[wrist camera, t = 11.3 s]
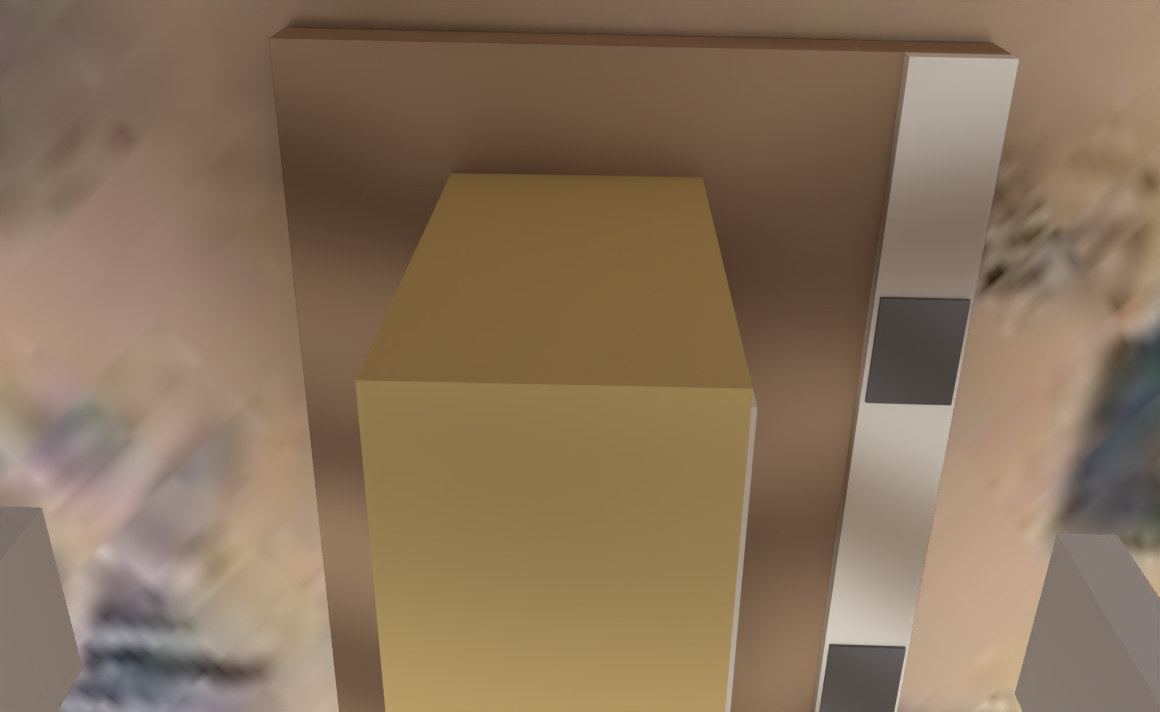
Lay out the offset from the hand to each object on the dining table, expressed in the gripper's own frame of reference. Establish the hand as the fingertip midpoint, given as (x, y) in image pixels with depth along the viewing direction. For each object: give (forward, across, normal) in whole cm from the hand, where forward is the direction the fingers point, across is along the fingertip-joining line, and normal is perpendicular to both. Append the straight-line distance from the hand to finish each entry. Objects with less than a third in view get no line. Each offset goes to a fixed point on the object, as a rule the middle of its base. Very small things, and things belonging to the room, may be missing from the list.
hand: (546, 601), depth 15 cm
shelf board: (+11, +1, -5) cm, 12 cm away
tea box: (+10, 0, -1) cm, 10 cm away
